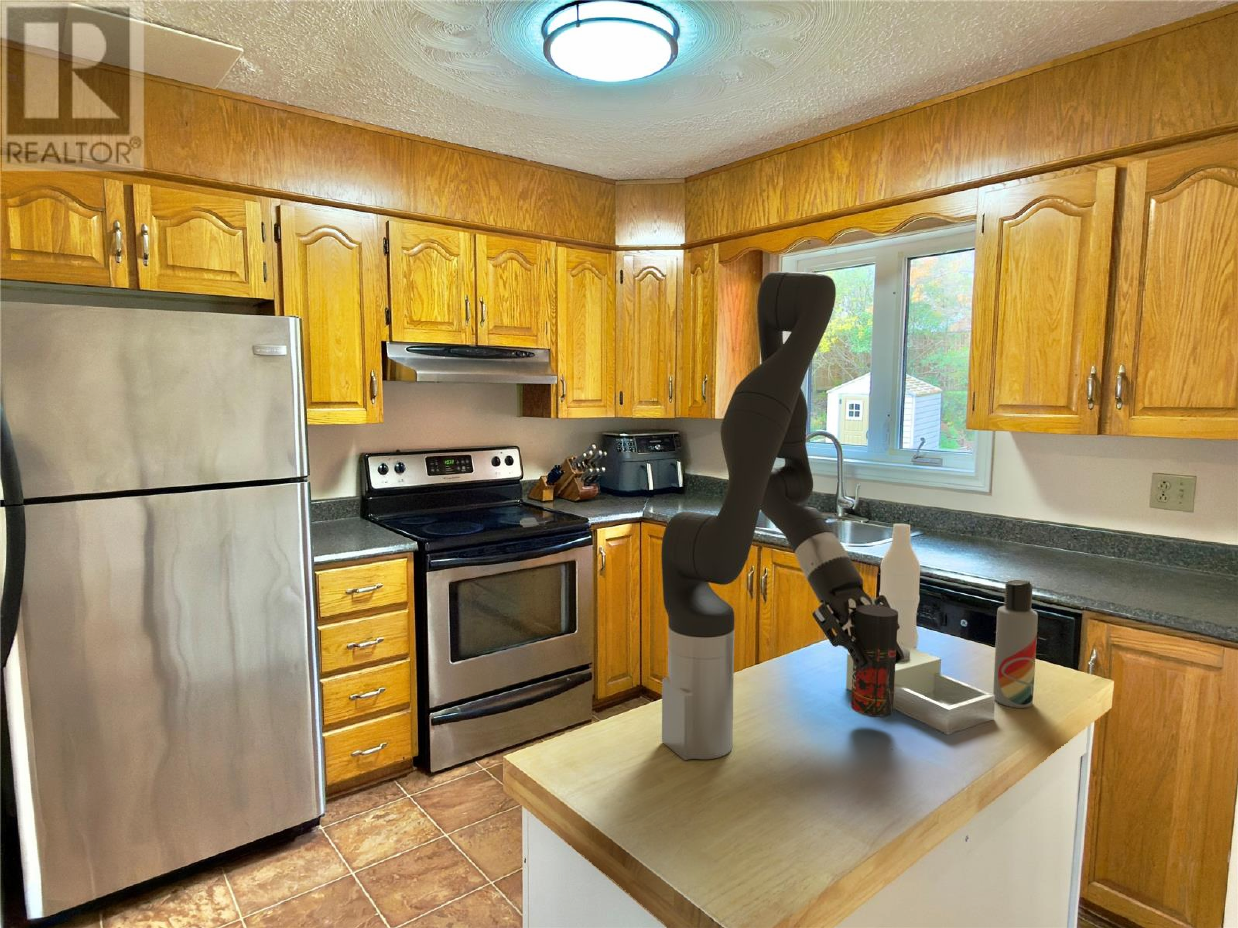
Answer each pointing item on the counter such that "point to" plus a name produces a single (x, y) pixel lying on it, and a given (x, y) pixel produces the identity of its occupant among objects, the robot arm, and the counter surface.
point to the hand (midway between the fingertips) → (883, 664)
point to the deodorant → (875, 661)
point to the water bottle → (902, 583)
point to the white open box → (946, 704)
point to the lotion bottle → (1015, 647)
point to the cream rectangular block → (909, 670)
